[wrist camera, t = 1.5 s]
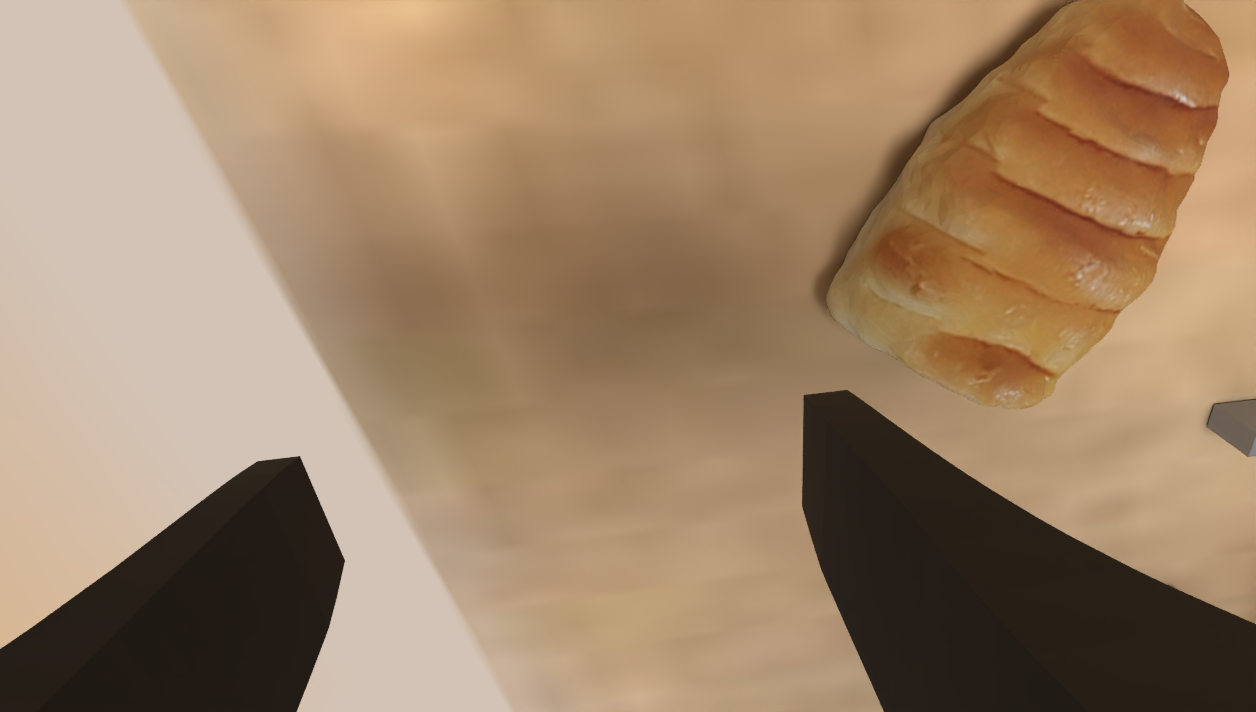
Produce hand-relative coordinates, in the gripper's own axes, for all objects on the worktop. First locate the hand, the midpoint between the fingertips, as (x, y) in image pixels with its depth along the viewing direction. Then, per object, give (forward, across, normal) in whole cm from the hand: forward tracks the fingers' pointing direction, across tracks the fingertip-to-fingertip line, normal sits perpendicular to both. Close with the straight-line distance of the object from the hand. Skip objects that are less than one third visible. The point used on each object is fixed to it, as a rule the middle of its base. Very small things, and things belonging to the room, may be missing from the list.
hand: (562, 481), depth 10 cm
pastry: (+9, -10, 0) cm, 14 cm away
